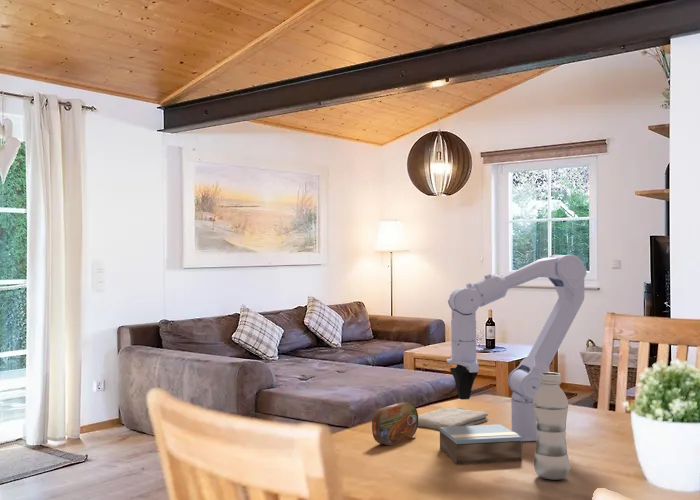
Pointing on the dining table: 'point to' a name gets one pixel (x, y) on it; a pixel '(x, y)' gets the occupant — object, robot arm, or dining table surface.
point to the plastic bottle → (551, 428)
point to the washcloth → (451, 418)
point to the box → (481, 451)
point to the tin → (395, 423)
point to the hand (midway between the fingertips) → (464, 398)
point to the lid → (480, 434)
